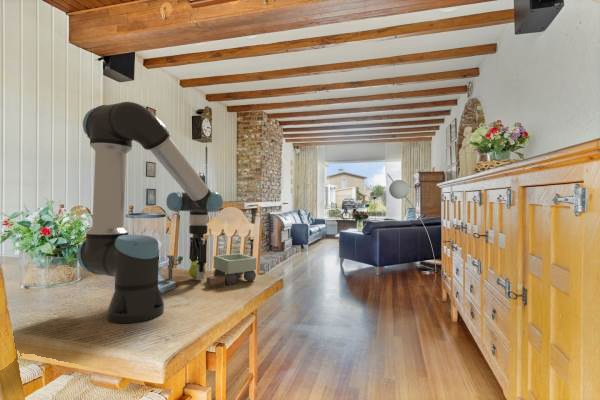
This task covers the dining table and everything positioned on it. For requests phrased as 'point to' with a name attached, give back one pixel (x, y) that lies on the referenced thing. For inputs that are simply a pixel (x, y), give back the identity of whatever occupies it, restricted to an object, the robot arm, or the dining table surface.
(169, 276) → the mechanical component
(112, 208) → the robot arm
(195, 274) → the tennis ball
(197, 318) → the dining table surface
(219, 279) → the chock
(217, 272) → the trolley
